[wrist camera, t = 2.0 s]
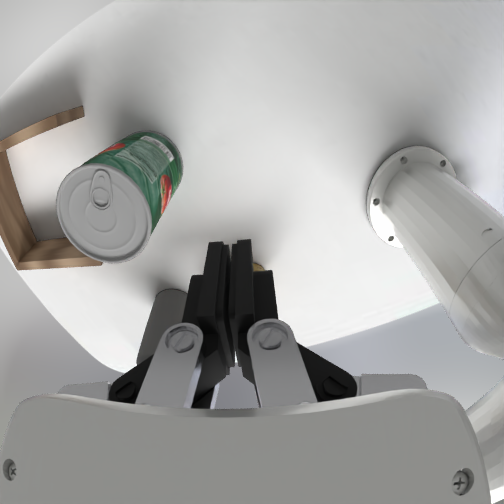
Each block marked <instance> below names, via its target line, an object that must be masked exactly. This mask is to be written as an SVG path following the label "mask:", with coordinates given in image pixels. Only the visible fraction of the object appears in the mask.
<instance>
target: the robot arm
mask: <svg viewBox="0 0 504 504" xmlns="http://www.w3.org/2000/svg"><path fill="white" fill-rule="evenodd" d="M367 214H368V219H369V222H370V224H371V226H372V228H373V229H374V231H375V232H376V234H377V235H378V236H379V237H380V238H381V239H382V240H383V241H384V242H386V243H387V244H389V245H392V246H395V247H402V248H404V249H405V251H406V252H407V253H408V255H409V256H410V258H411V259H412V261H413V262H414V263H415V265H416V266H417V268H418V269H419V271H420V272H421V274H422V275H423V277H424V278H425V280H426V281H427V283H428V284H429V286H430V287H431V289H432V291H433V292H434V294H435V295H436V297H437V298H438V300H439V302H440V303H441V305H442V307H443V308H444V310H445V312H446V313H447V315H448V317H449V319H450V320H451V322H452V324H453V325H454V327H455V329H456V331H457V332H458V334H459V335H460V337H461V339H462V340H463V341H464V342H465V343H466V344H467V345H468V346H469V347H470V348H471V349H473V350H475V351H477V352H479V353H482V354H486V355H489V356H494V357H497V358H500V359H503V360H504V216H503V215H502V214H501V213H499V212H498V211H497V210H496V209H495V208H493V207H492V206H491V205H490V204H488V203H487V202H486V201H485V200H483V199H482V198H481V197H480V196H478V195H477V194H476V193H474V192H473V191H472V190H470V189H469V188H468V187H466V186H465V185H463V184H462V183H461V182H459V181H458V180H457V178H456V174H455V171H454V169H453V167H452V165H451V164H450V162H449V161H448V159H447V158H445V157H444V156H443V155H442V154H441V153H439V152H437V151H436V150H434V149H431V148H428V147H425V146H412V147H407V148H404V149H402V150H399V151H398V152H396V153H394V154H393V155H391V156H390V157H389V158H388V159H387V160H386V161H385V162H383V164H382V165H381V166H380V168H379V169H378V170H377V172H376V173H375V175H374V177H373V179H372V181H371V184H370V187H369V190H368V195H367ZM235 351H236V356H237V361H238V366H239V367H242V372H243V377H245V378H246V379H247V380H249V381H250V382H251V383H253V384H254V389H255V394H256V398H257V403H258V407H259V408H249V409H248V408H247V409H214V408H215V403H216V399H217V395H218V390H219V382H220V381H221V380H223V379H224V378H225V377H226V375H229V371H230V367H234V366H235ZM0 504H504V376H503V377H502V378H501V379H500V380H499V381H498V383H497V384H496V385H495V386H494V387H493V388H492V389H491V390H490V391H488V392H487V393H486V394H485V395H484V396H483V397H482V398H480V399H479V400H478V401H477V402H476V403H474V404H473V405H472V406H471V407H469V408H468V409H467V410H464V409H463V407H462V406H461V404H460V403H459V402H458V401H457V400H456V399H455V398H454V397H452V396H451V395H449V394H446V393H443V392H439V391H434V390H428V389H427V386H426V383H425V382H424V380H423V379H422V378H420V377H419V376H417V375H412V374H361V376H360V377H359V376H352V375H350V374H349V373H348V372H346V371H344V370H343V369H341V368H339V367H338V366H336V365H334V364H332V363H331V362H329V361H327V360H326V359H324V358H322V357H320V356H319V355H317V354H315V353H314V352H312V351H310V350H309V349H307V348H305V347H304V346H302V345H300V344H299V343H297V342H296V340H295V337H294V334H293V331H292V330H291V328H290V326H289V325H288V324H286V323H285V322H283V321H281V320H278V313H277V304H276V296H275V288H274V280H273V272H272V270H266V271H254V269H253V257H252V246H251V239H248V240H237V244H232V256H231V258H230V251H229V245H224V243H223V241H221V242H209V245H208V251H207V256H206V262H205V267H204V273H203V275H192V277H191V280H190V285H189V289H188V294H187V299H186V303H185V308H184V313H183V318H182V323H179V324H175V325H173V326H171V327H169V328H168V329H167V330H166V331H165V332H164V334H163V335H162V337H161V339H160V342H159V344H158V347H157V349H156V351H155V353H154V354H153V355H151V356H150V357H149V358H147V359H146V360H144V361H143V362H141V363H140V364H138V365H137V366H136V367H134V368H133V369H131V370H130V371H128V372H127V373H125V374H124V375H122V376H121V377H119V378H118V379H117V380H116V381H115V382H113V383H112V384H110V383H109V382H108V381H107V382H97V383H86V384H73V385H66V386H64V387H62V388H61V389H60V390H59V392H58V393H56V394H55V393H53V394H41V395H37V396H32V397H30V398H27V399H25V400H23V401H22V402H21V403H20V404H19V405H18V406H17V407H16V409H15V411H14V413H13V415H12V417H11V419H10V422H9V424H8V427H7V430H6V433H5V436H4V439H3V443H2V446H1V450H0Z"/></svg>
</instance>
